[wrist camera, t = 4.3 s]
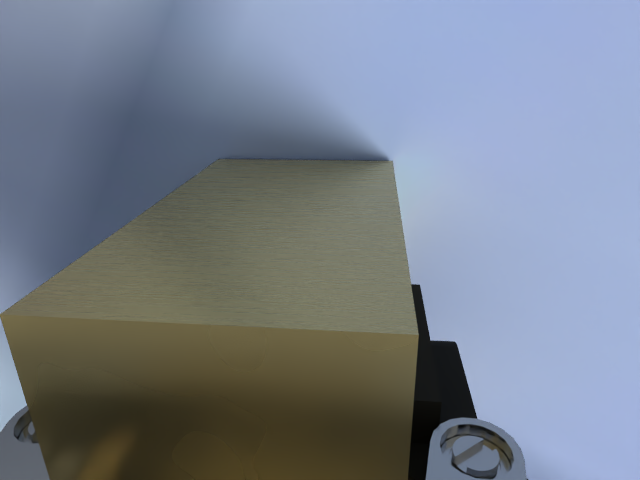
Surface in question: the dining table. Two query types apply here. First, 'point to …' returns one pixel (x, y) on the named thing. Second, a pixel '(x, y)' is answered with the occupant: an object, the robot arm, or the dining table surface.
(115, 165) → the dining table surface
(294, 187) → the block
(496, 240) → the dining table surface
